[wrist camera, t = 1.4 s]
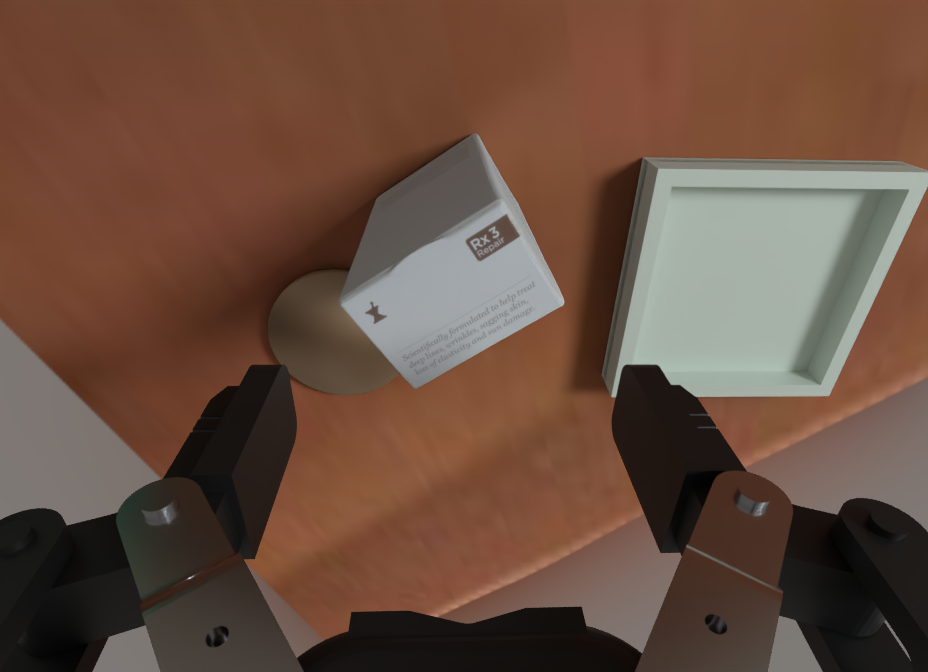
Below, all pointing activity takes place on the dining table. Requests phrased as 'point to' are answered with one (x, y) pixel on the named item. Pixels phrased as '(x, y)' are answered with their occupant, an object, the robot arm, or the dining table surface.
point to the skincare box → (447, 266)
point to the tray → (755, 270)
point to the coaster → (324, 338)
